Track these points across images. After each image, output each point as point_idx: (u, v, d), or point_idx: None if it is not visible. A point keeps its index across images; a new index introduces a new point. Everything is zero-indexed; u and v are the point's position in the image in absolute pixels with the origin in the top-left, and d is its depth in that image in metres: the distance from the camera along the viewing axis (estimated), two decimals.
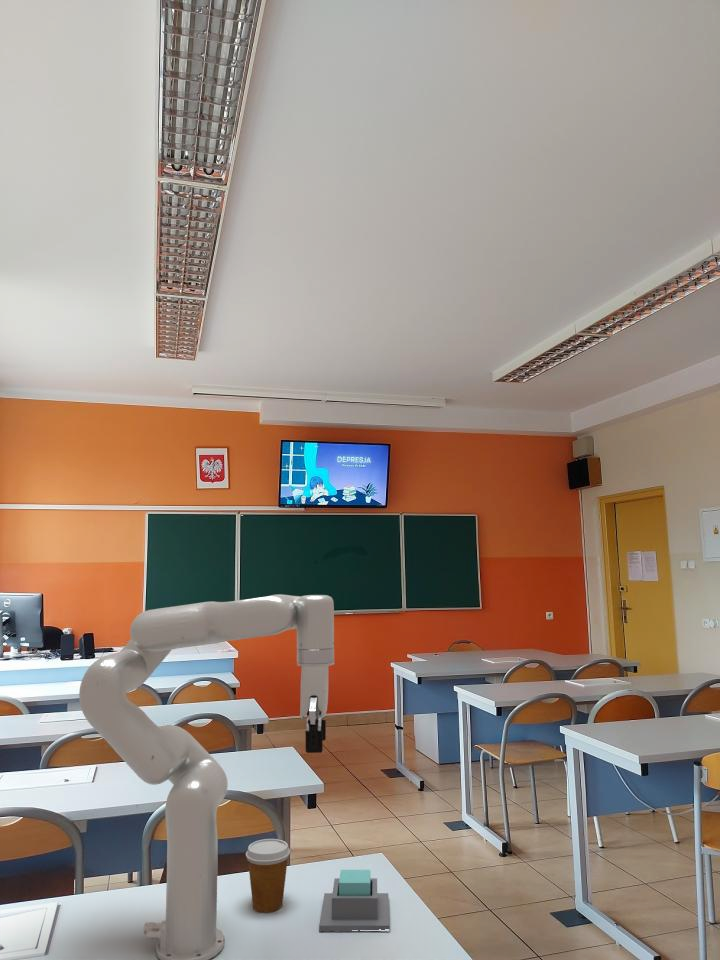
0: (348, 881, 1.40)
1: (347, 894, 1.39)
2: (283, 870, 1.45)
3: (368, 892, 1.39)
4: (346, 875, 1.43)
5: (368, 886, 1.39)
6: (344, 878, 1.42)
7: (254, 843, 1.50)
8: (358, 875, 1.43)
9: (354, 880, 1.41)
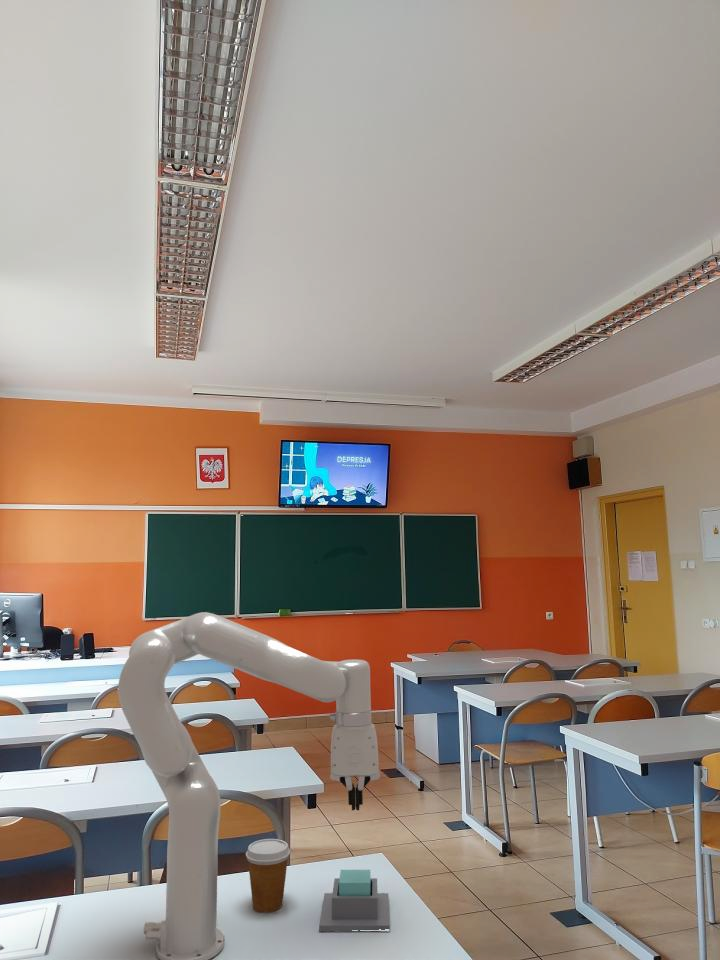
0: (348, 881, 1.40)
1: (347, 894, 1.39)
2: (283, 870, 1.45)
3: (368, 892, 1.39)
4: (346, 875, 1.43)
5: (368, 886, 1.39)
6: (344, 878, 1.42)
7: (254, 843, 1.50)
8: (358, 875, 1.43)
9: (354, 880, 1.41)
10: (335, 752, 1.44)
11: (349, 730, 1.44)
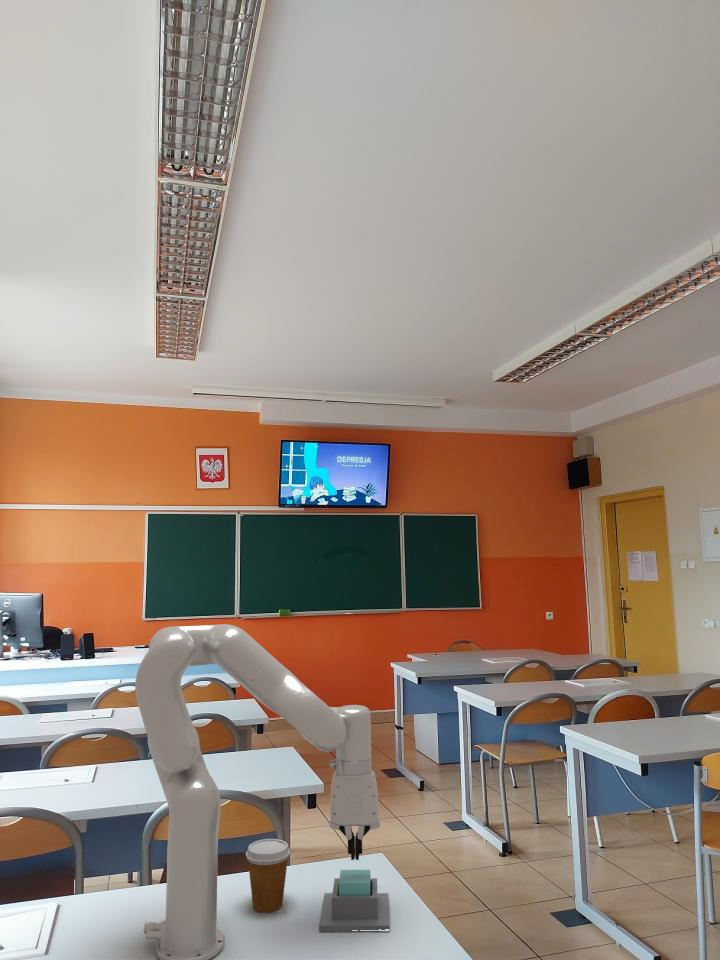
0: (348, 881, 1.40)
1: (347, 894, 1.39)
2: (283, 870, 1.45)
3: (368, 892, 1.39)
4: (346, 875, 1.43)
5: (368, 886, 1.39)
6: (344, 878, 1.42)
7: (254, 843, 1.50)
8: (358, 875, 1.43)
9: (354, 880, 1.41)
10: (335, 801, 1.42)
11: (349, 778, 1.43)
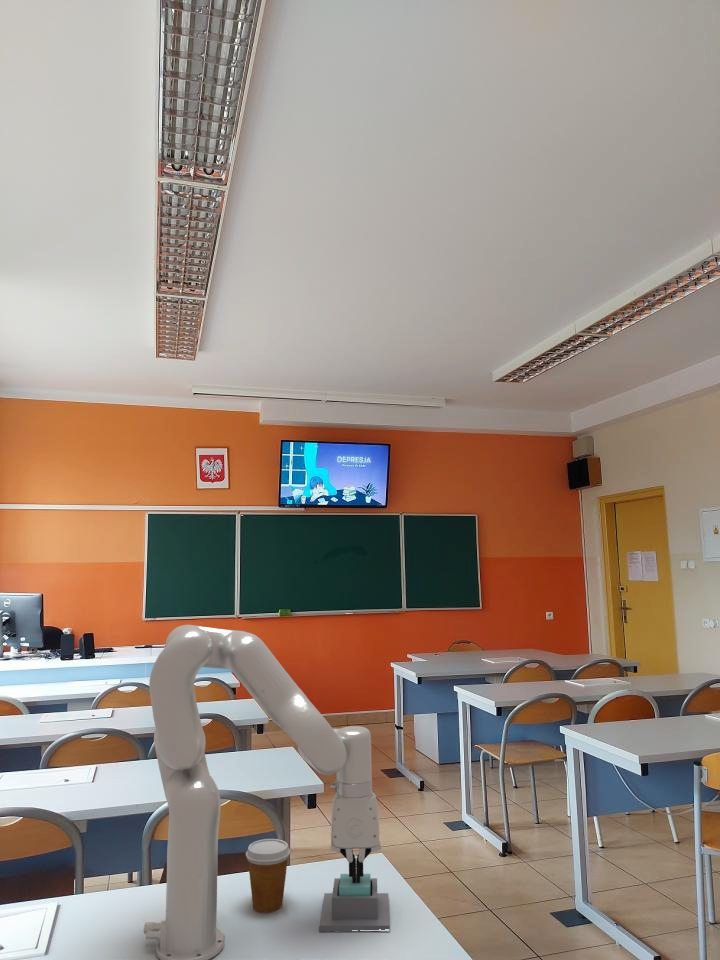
0: (348, 885, 1.40)
1: None
2: (283, 870, 1.45)
3: None
4: (346, 879, 1.43)
5: (368, 890, 1.39)
6: (344, 882, 1.42)
7: (254, 843, 1.50)
8: None
9: (354, 884, 1.41)
10: (335, 823, 1.42)
11: (350, 801, 1.42)
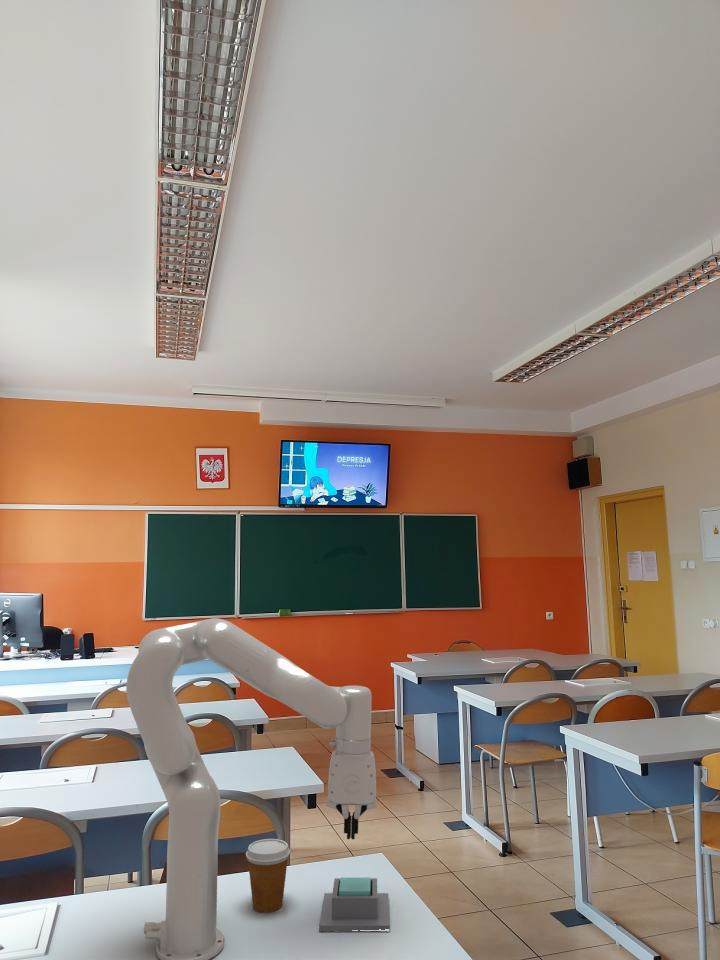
0: (348, 889, 1.40)
1: None
2: (283, 870, 1.45)
3: None
4: (346, 883, 1.43)
5: (368, 894, 1.39)
6: (344, 886, 1.41)
7: (254, 843, 1.50)
8: (358, 883, 1.43)
9: (354, 888, 1.41)
10: (333, 779, 1.43)
11: (348, 757, 1.43)
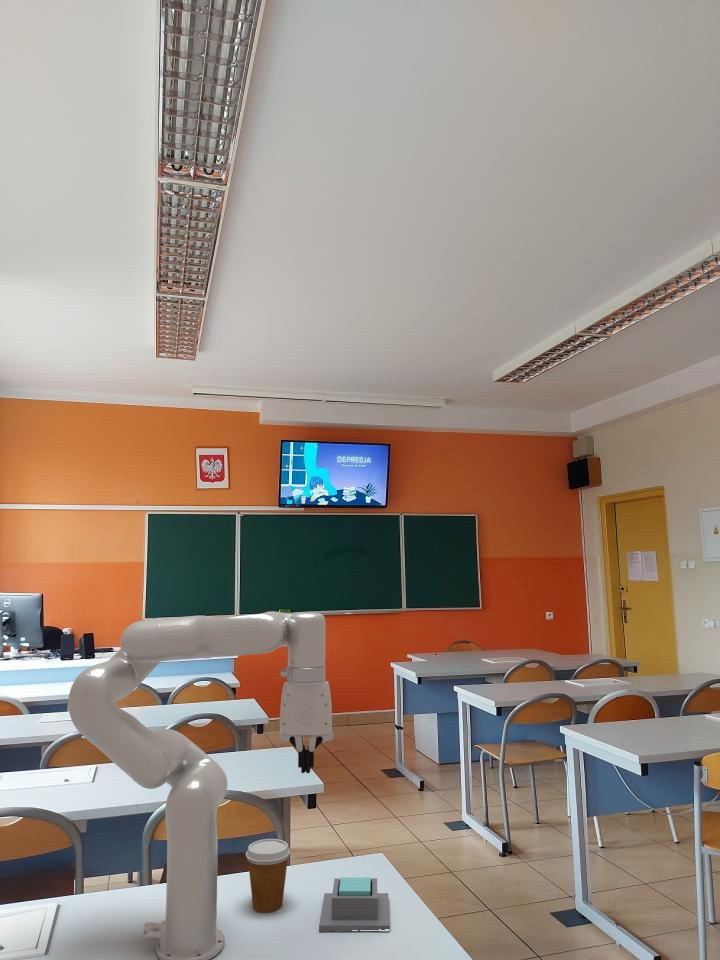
0: (348, 889, 1.40)
1: None
2: (283, 870, 1.45)
3: None
4: (346, 883, 1.43)
5: (368, 894, 1.39)
6: (344, 886, 1.41)
7: (254, 843, 1.50)
8: (358, 883, 1.43)
9: (354, 888, 1.41)
10: (285, 710, 1.33)
11: (300, 686, 1.33)
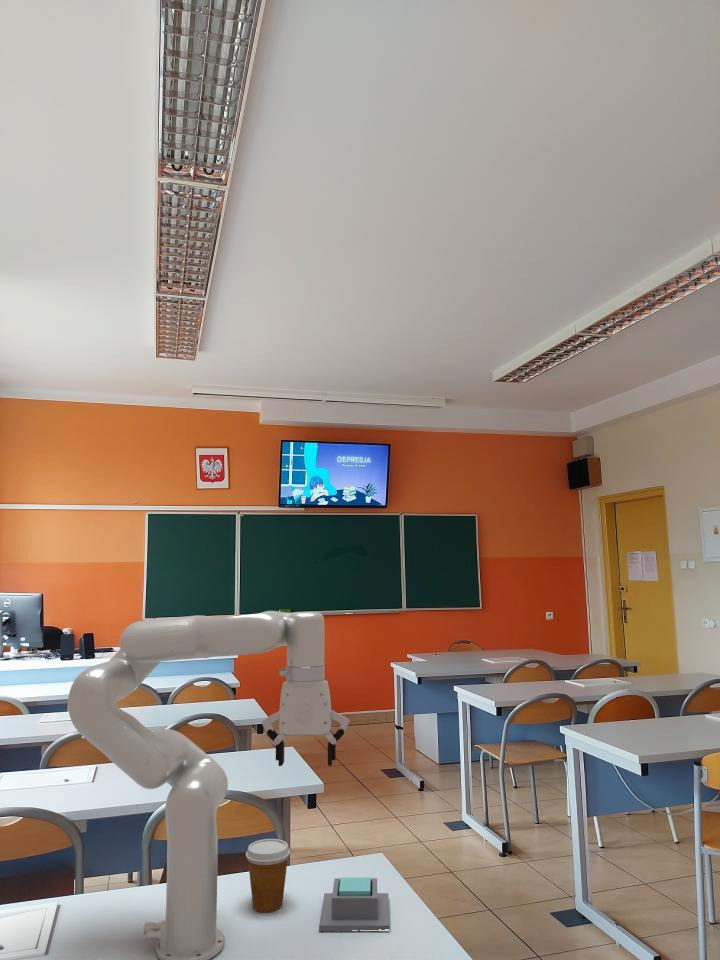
0: (348, 889, 1.40)
1: None
2: (283, 870, 1.45)
3: None
4: (346, 883, 1.43)
5: (368, 894, 1.39)
6: (344, 886, 1.41)
7: (254, 843, 1.50)
8: (358, 883, 1.43)
9: (354, 888, 1.41)
10: (284, 709, 1.33)
11: (299, 686, 1.33)
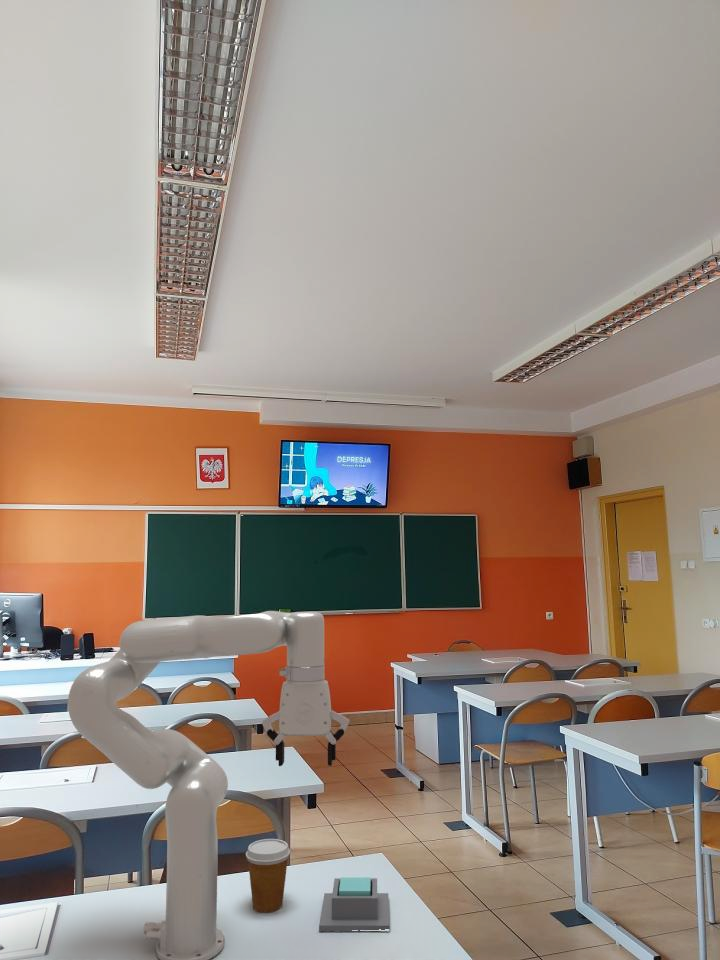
0: (348, 889, 1.40)
1: None
2: (283, 870, 1.45)
3: None
4: (346, 883, 1.43)
5: (368, 894, 1.39)
6: (344, 886, 1.41)
7: (254, 843, 1.50)
8: (358, 883, 1.43)
9: (354, 888, 1.41)
10: (284, 709, 1.33)
11: (299, 686, 1.33)
